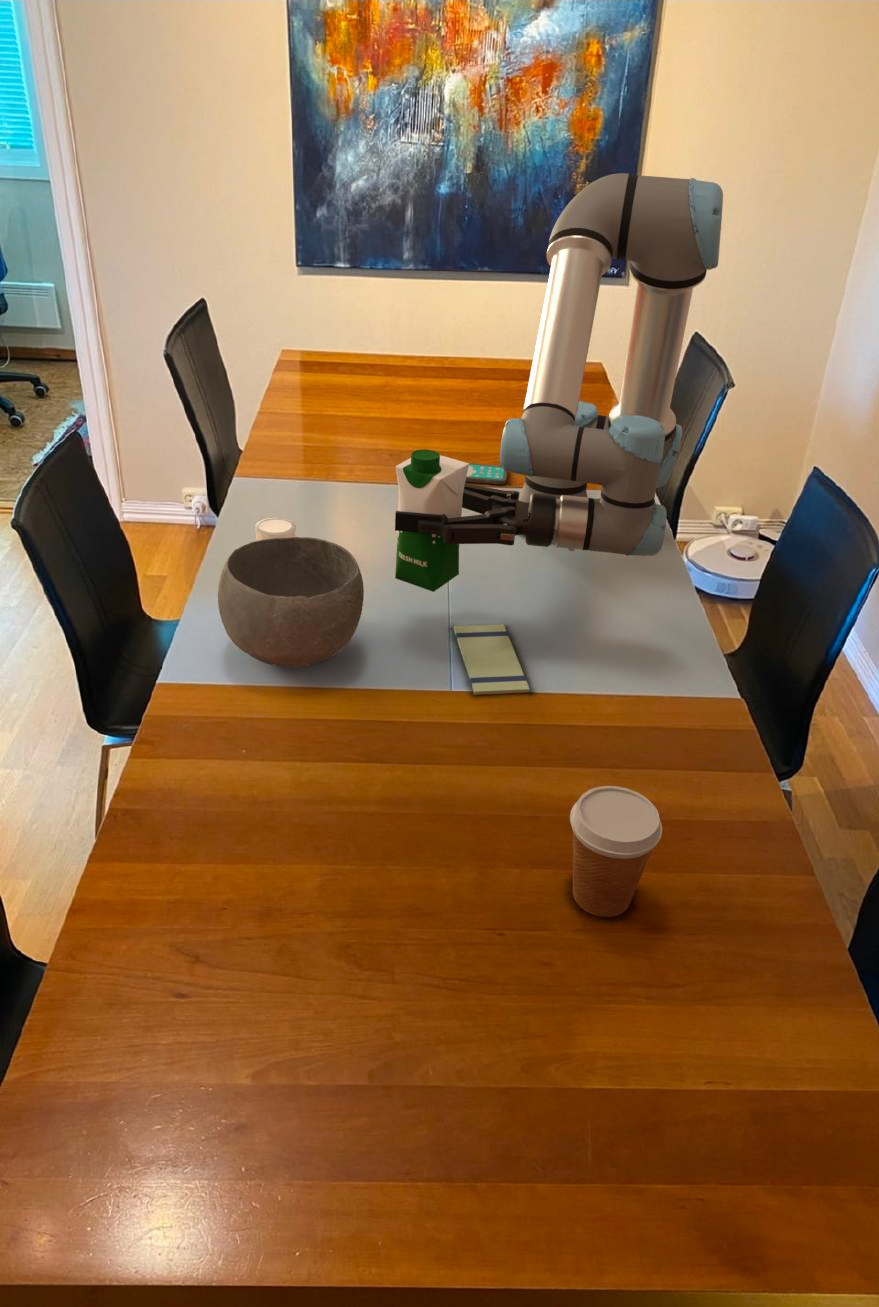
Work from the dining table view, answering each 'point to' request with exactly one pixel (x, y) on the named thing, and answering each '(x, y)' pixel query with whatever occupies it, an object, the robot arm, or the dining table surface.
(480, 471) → the smartphone
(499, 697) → the dining table surface
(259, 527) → the beige tapered cylinder
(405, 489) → the milk carton
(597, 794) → the disposable coffee cup
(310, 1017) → the dining table surface
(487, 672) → the tea towel
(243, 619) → the bowl
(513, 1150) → the dining table surface
